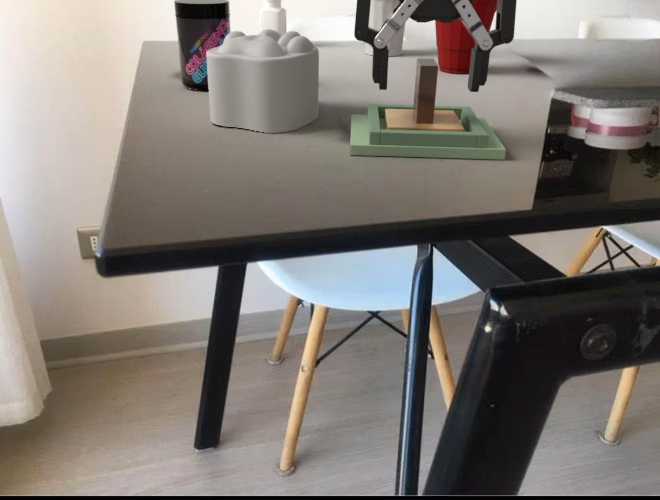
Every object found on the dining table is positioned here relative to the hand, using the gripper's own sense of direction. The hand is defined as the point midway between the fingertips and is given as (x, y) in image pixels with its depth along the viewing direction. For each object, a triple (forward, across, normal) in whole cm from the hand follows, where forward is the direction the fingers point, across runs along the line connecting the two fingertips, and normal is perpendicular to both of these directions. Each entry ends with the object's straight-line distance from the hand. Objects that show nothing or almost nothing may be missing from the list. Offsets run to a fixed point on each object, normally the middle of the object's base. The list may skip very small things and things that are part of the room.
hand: (427, 89), depth 60 cm
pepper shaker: (+5, -22, +58) cm, 62 cm away
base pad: (+5, 0, 0) cm, 5 cm away
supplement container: (+5, -26, +22) cm, 35 cm away
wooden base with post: (+4, 0, 0) cm, 4 cm away
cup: (+5, -2, +52) cm, 52 cm away
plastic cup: (+5, +9, +38) cm, 39 cm away
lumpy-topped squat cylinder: (+5, -16, +8) cm, 19 cm away
